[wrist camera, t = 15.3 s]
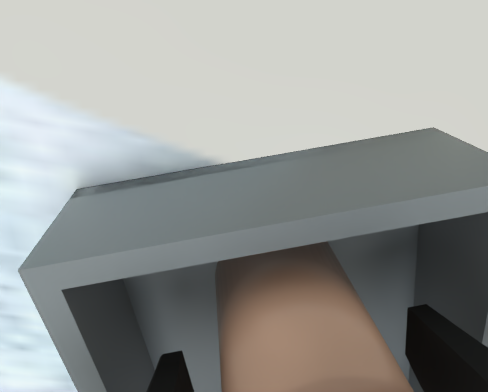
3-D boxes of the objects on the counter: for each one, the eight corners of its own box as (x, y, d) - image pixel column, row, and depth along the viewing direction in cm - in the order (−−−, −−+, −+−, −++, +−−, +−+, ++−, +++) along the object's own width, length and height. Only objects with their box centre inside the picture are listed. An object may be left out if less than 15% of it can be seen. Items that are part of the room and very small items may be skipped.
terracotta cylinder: (335, 312, 17) (416, 489, 10) (223, 329, 16) (237, 521, 10) (335, 212, 15) (438, 359, 8) (206, 231, 14) (212, 396, 8)
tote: (411, 421, 22) (465, 524, 18) (179, 467, 22) (174, 586, 17) (433, 127, 14) (539, 176, 10) (76, 189, 14) (17, 270, 9)
